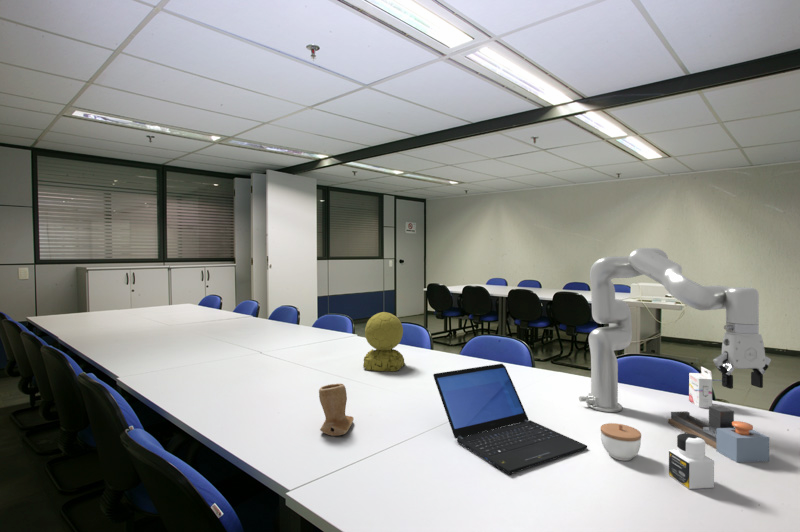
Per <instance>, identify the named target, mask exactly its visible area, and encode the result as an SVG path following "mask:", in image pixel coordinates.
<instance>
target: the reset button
mask: <svg viewBox="0 0 800 532" xmlns="http://www.w3.org/2000/svg"><path fill="white" fill-rule="evenodd" d="M732 426H734V428H735V433H738V434H740V435H742V436H745V435H749V430H754V425H753V424H751V423H748V422H746V421H740V420H734V421H733V422H732Z"/></svg>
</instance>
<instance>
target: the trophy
mask: <svg viewBox="0 0 800 532" xmlns="http://www.w3.org/2000/svg"><path fill="white" fill-rule="evenodd" d="M403 336H404V328H403V323H402V322H401V320H400V319H399V318H398V317H397V316H396V315H394V314H393V313H390V312H386V311H382V312H377V313H376V314H374V315H371V317H370V318H369V319H368V320H367V322H366V324H365V328H364V337H365V339H366V341H367V343H368V345H370V346H371V347H372V349H370V350H369V351H368V352H367V353H366V354H365V356H364V357H363V366H362V368H363V369H365V370H366V371H374V372H375V371H376V372H398V370H400V369H402V367H403V366H405V357H404V355H403V354H402V353H401V352H399V351H398V350H397V349H394V348H396V347H397V346H398V345H399V344H400V343H401V341H402V339H403Z"/></svg>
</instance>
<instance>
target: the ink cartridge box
mask: <svg viewBox="0 0 800 532" xmlns="http://www.w3.org/2000/svg"><path fill="white" fill-rule="evenodd" d="M700 370H701V372H700V373H699V372H688V373H689V374H688V376H689V377H688V378H689V379H688V381H689V382H688V401H689V400H690V401H691V403H692V402H693V403H694V404H693V403H692V404H693V405H695V406H696V405H697V406H698V408H699V407H700V408H701V409H704V408H705V409H709V406H713V375H712V371H711V370H709V369H707V368H706V367H703V366H700ZM690 401H689V402H690ZM697 406H696V407H697Z"/></svg>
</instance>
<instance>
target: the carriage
mask: <svg viewBox="0 0 800 532" xmlns="http://www.w3.org/2000/svg"><path fill="white" fill-rule="evenodd" d="M733 421H735V411H734V410H732V409H730V408H727V407H725V406H722V405H719V406H718V405H715V406H713V405H712V406H709V408H708V424H709V427H703V431H704V432H706V433H708V434H710V435H712V436H713V437H715V438H716V435H717V428H735V427H734V426H732V422H733Z"/></svg>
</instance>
